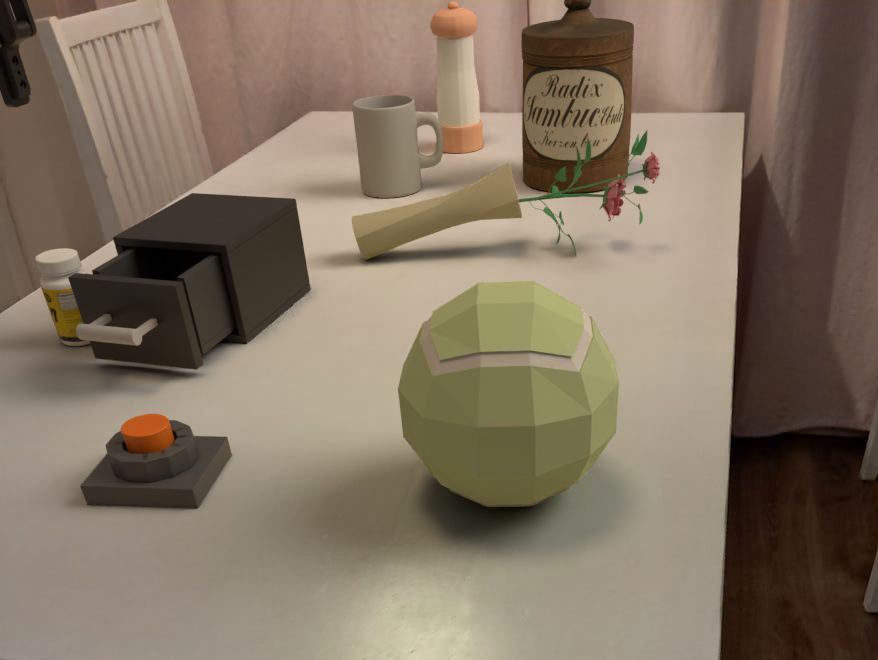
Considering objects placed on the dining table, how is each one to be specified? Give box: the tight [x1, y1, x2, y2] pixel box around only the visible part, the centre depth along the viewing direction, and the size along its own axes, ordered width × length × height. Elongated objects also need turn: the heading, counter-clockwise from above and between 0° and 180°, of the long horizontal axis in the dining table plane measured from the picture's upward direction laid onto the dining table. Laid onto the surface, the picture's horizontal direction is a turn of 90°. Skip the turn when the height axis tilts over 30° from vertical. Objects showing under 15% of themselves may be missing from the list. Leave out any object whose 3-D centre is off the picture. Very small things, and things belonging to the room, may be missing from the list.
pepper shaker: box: [429, 0, 484, 154], centre depth 140 cm, size 7×7×19 cm
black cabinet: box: [112, 192, 312, 344], centre depth 96 cm, size 15×13×10 cm
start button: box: [120, 413, 174, 454], centre depth 71 cm, size 4×4×2 cm
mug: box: [351, 94, 444, 199], centre depth 127 cm, size 12×8×11 cm
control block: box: [79, 419, 233, 509], centre depth 72 cm, size 9×8×4 cm
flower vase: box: [351, 129, 660, 261], centre depth 107 cm, size 12×12×35 cm
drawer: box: [68, 247, 237, 370], centre depth 89 cm, size 18×11×8 cm, turn 162°
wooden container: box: [520, 0, 635, 194], centre depth 123 cm, size 15×15×22 cm
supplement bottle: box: [34, 247, 91, 347], centre depth 93 cm, size 5×5×8 cm
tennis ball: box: [397, 280, 620, 508], centre depth 65 cm, size 15×15×15 cm
